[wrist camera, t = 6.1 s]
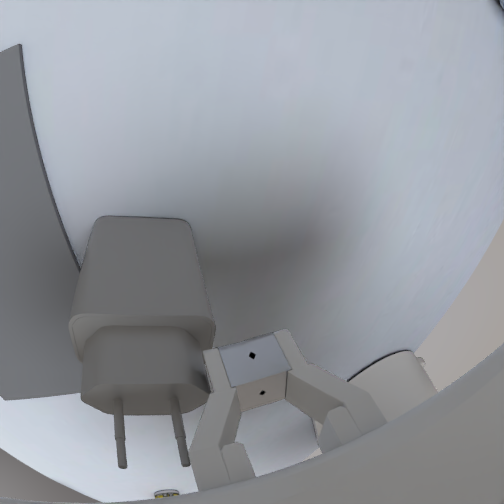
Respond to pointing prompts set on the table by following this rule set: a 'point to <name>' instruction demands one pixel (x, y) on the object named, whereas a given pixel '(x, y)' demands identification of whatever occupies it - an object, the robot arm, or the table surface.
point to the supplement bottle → (166, 493)
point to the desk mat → (31, 257)
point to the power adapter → (142, 323)
